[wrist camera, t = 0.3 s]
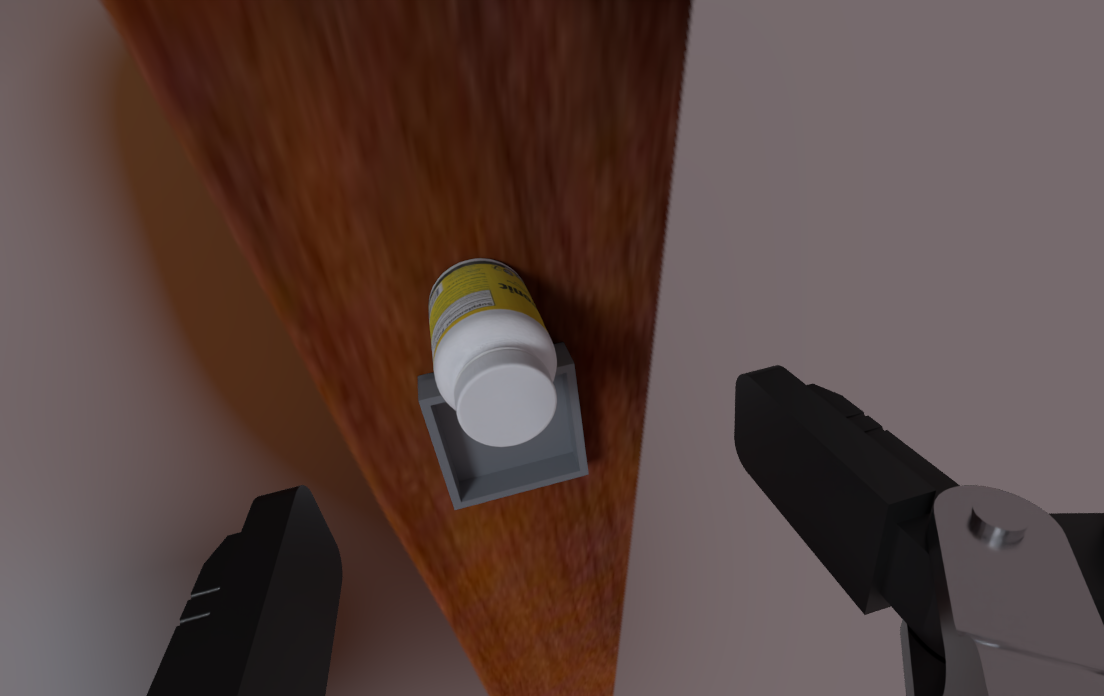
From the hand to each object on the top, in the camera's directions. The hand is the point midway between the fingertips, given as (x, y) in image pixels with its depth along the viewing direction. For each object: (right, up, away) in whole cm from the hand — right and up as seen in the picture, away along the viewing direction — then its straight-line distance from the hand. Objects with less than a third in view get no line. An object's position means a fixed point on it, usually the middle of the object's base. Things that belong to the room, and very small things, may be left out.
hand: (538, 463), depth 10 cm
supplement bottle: (-4, +5, +19) cm, 20 cm away
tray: (-3, -2, +23) cm, 24 cm away
